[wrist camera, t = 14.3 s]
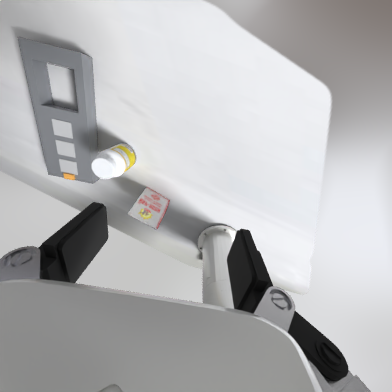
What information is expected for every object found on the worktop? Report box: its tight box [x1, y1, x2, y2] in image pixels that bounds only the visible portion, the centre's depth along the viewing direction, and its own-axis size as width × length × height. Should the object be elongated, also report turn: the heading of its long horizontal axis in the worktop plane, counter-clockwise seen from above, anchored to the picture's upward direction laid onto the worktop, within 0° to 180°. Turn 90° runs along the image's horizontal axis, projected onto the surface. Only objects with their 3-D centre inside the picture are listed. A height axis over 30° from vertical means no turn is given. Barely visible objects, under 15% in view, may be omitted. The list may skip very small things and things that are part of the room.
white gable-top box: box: [128, 187, 170, 230], centre depth 38 cm, size 4×7×10 cm, turn 55°
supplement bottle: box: [92, 143, 137, 179], centre depth 33 cm, size 5×5×10 cm
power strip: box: [18, 37, 100, 184], centre depth 33 cm, size 24×10×4 cm, turn 168°
